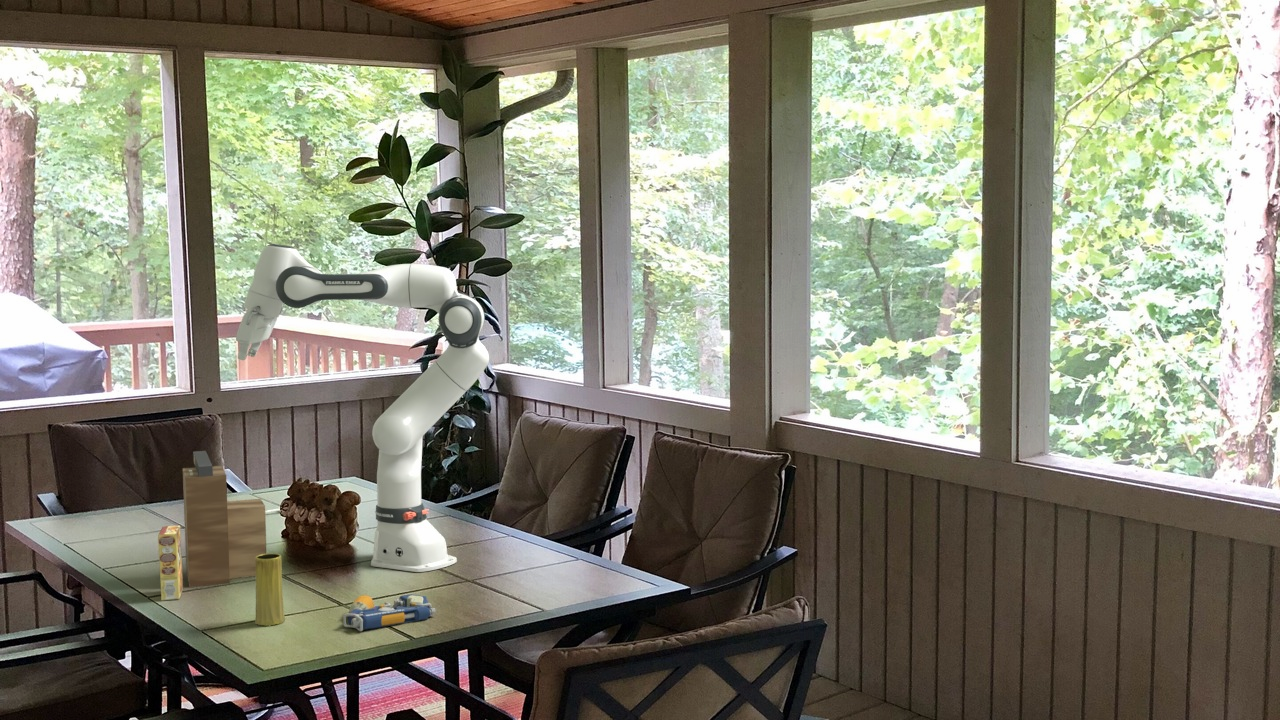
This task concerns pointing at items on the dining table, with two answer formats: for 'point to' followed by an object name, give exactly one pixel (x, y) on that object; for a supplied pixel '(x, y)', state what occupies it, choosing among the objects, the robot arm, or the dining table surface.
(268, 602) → the vase
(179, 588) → the candy box
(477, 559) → the dining table surface
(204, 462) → the bar
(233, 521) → the stand
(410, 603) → the toy blaster gun
